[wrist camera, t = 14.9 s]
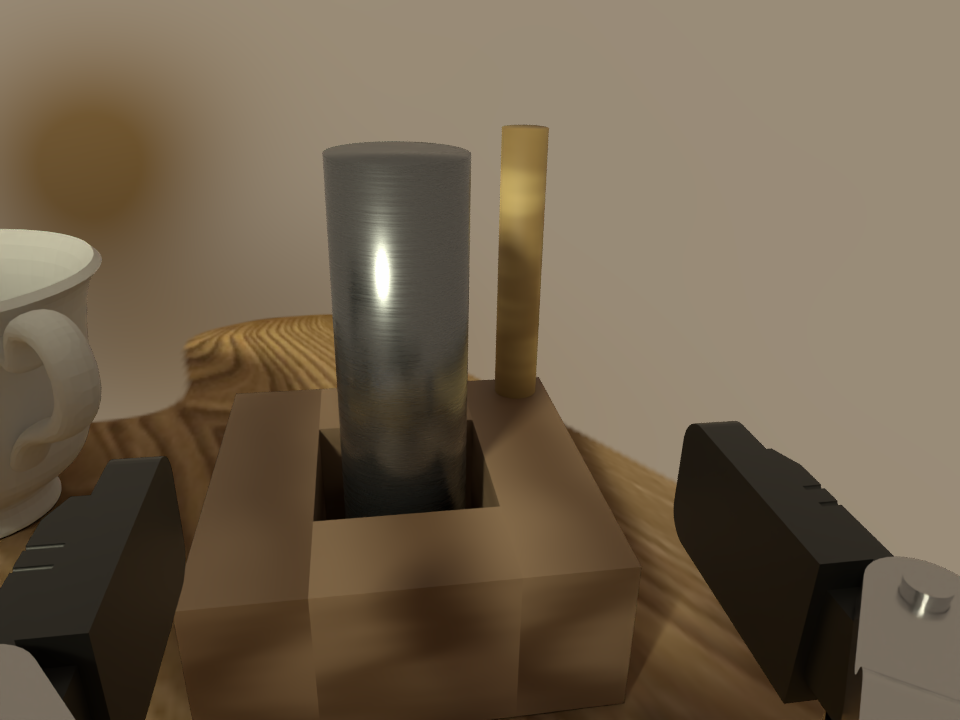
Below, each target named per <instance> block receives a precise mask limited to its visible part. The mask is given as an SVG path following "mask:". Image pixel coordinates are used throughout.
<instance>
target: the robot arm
mask: <svg viewBox="0 0 960 720" xmlns="http://www.w3.org/2000/svg"><path fill="white" fill-rule="evenodd" d="M674 522H675V527H676V531H677V534H678V537H679V539H680V542H681V543H682V545H683V547H684V548H685V550H686V551H687V553H688V555H689V556H690V558H691V559H692V561H693V562H694V564H695V565H696V567H697V569H698V570H699V572H700V573H701V575H702V576H703V578H704V580H705V581H706V583H707V584H708V586H709V587H710V589H711V590H712V592H713V594H714V595H715V597H716V598H717V600H718V601H719V603H720V604H721V606H722V608H723V609H724V611H725V612H726V614H727V615H728V617H729V619H730V620H731V622H732V623H733V625H734V626H735V628H736V629H737V631H738V633H739V634H740V636H741V637H742V639H743V640H744V642H745V644H746V645H747V647H748V648H749V650H750V651H751V653H752V654H753V656H754V658H755V659H756V661H757V662H758V664H759V665H760V667H761V668H762V670H763V672H764V673H765V675H766V676H767V678H768V679H769V681H770V683H771V684H772V686H773V687H774V689H775V690H776V692H777V693H778V695H779V697H780V698H781V700H782V701H783V703H784V704H786V703H794V702H802V701H810V700H817V699H818V700H819V702H820V703H821V705H822V706H823V708H824V709H825V711H824V715H823V718H822V720H960V576H958V575H957V574H955V573H953V572H951V571H949V570H947V569H945V568H943V567H940V566H938V565H936V564H933V563H929V562H927V561H923V560H919V559H915V558H907V557H894V556H893V555H892V554H891V553H890V552H889V551H888V550H887V549H886V548H885V547H884V546H883V545H882V544H881V543H880V542H879V541H878V540H877V539H876V538H875V537H874V536H873V535H872V534H871V533H870V532H869V531H868V530H867V529H866V528H864V526H862V525H861V524H860V522H858V521H857V520H856V519H855V518H854V517H853V516H852V515H851V514H850V513H849V512H848V511H847V510H846V509H845V508H844V507H843V506H842V505H838V504H837V500H836V499H835V498H834V497H833V496H832V495H831V494H830V493H829V492H828V491H827V490H826V489H821V484H820V483H819V482H818V481H817V480H816V479H815V478H813V476H812V475H810V473H809V472H808V471H807V470H806V469H804V468H803V467H802V466H801V465H800V464H798V463H797V462H795V461H793V460H791V459H789V458H787V457H786V456H783V455H782V454H780V453H778V452H777V451H775V450H773V449H766V448H765V447H764V446H763V445H762V444H761V443H760V442H759V441H758V440H757V439H756V438H755V437H754V436H753V435H752V434H751V433H750V432H749V431H748V430H747V429H746V428H745V427H744V426H743V425H742V424H741V423H740V422H737V421H728V422H712V423H696V424H691V425H690V426H689V427H688V428H687V430H686V433H685V436H684V441H683V448H682V454H681V460H680V467H679V474H678V480H677V487H676V493H675V500H674ZM184 575H185V545H184V538H183V532H182V526H181V520H180V514H179V509H178V503H177V497H176V491H175V485H174V479H173V474H172V468H171V465H170V462H169V460H168V458H167V457H166V456H159V457H143V458H127V459H112V460H110V461H109V462H108V464H107V465H106V467H105V469H104V471H103V473H102V475H101V477H100V478H99V480H98V482H97V484H96V486H95V488H94V490H93V492H92V494H91V495H88V496H73V497H70V498H68V499H67V500H66V501H65V502H63V503H62V504H61V505H60V506H58V507H57V508H56V509H55V510H53V511H52V512H51V513H50V514H48V515H47V516H46V517H45V518H43V519H42V520H41V521H40V523H39V525H38V526H37V528H36V530H35V531H34V533H33V535H32V536H31V538H30V540H29V541H28V543H27V545H26V551H22V553H21V555H20V556H19V558H18V560H17V561H16V563H15V565H14V566H13V573H9V575H8V576H7V578H6V580H5V581H4V583H3V585H2V586H1V588H0V720H145V718H146V714H147V711H148V707H149V704H150V700H151V697H152V693H153V690H154V686H155V683H156V679H157V676H158V672H159V669H160V665H161V661H162V658H163V654H164V651H165V647H166V644H167V640H168V637H169V633H170V630H171V626H172V623H173V619H174V615H175V612H176V608H177V605H178V601H179V598H180V594H181V591H182V587H183V582H184Z"/></svg>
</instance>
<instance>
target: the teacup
mask: <svg viewBox="0 0 960 720" xmlns="http://www.w3.org/2000/svg"><path fill="white" fill-rule="evenodd" d="M101 261H102V259H101V255H100V253H99V252H98V251H97V250H96V249H94V248H93V247H92V246H90V245H89V244H88V243H86V242H85V241H83V240H80V239H78V238H76V237H72V236H69V235H64V234H59V233H54V232H45V231H35V230H17V229H15V230H14V229H0V538H3V537H5V536H8V535H10V534H12V533H14V532H16V531H18V530H21V529H23V528H25V527H27V526H29V525H30V524H32V523H33V522H35V521H36V520H38V519H39V518H40V517H42V516H43V515H45V514H46V513H47V512H48V511H49V510H50V509H51V508H52V507H53V506H54V505H55V503H56V502H57V500H58V499H59V497H60V494H61V481H60V479H59V477H58V475H59V474H60V473H62V472H63V471H64V470H65V469H66V468H67V467H68V466H69V465H70V464H71V463H72V462H73V461H74V460H75V458H76V457H77V456H78V454H79V452H80V451H81V449H82V447H83V445H84V443H85V441H86V438H87V435H88V432H89V427H90V424H91V423H92V421H93V419H94V417H95V416H96V414H97V411H98V409H99V405H100V401H101V382H100V376H99V371H98V367H97V363H96V360H95V357H94V355H93V353H92V350H91V347H90V345H89V343H88V331H87V292H88V287H89V281H90V279H91V277H92V275H93V274H94V273H95V272H96V270H97V269H98V268H99V267H100V264H101Z"/></svg>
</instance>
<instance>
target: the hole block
mask: <svg viewBox="0 0 960 720" xmlns="http://www.w3.org/2000/svg"><path fill="white" fill-rule="evenodd" d="M548 133H549V128H548V127H544V126H537V125H507V126H503V127H502V147H501V148H502V151H501V184H500V220H499V258H498V294H497V295H498V296H497V330H496V367H495V380H479V381H467V436H466V497H465V509H462V510H450V511H437V512H425V513H413V514H400V515H388V516H376V517H363V518H351V519H345V504H344V488H343V472H342V456H341V440H340V424H339V408H338V392H337V388H332V389H314V390H296V391H277V392H259V393H241V394H236V396H235V399H234V403H233V406H232V409H231V413H230V416H229V420H228V423H227V426H226V430H225V433H224V437H223V440H222V443H221V447H220V450H219V454H218V457H217V460H216V464H215V467H214V470H213V474H212V477H211V481H210V484H209V487H208V491H207V494H206V498H205V501H204V504H203V508H202V511H201V515H200V518H199V521H198V525H197V528H196V532H195V535H194V538H193V542H192V545H191V549H190V552H189V555H188V559H187V562H186V566H185V575H184V582H183V587H182V591H181V594H180V598H179V601H178V605H177V608H176V612H175V615H174V619H173V620H174V626H175V631H176V636H177V641H178V647H179V652H180V657H181V662H182V668H183V673H184V678H185V683H186V689H187V694H188V699H189V704H190V710H191V715H192V720H491V719H499V718H507V717H515V716H523V715H531V714H539V713H547V712H555V711H564V710H572V709H580V708H588V707H596V706H604V705H612V704H620V703H624V700H625V692H626V684H627V676H628V668H629V661H630V653H631V645H632V637H633V630H634V622H635V614H636V606H637V599H638V591H639V583H640V575H641V565H640V563H639V561H638V559H637V557H636V556H635V554H634V552H633V550H632V548H631V546H630V545H629V543H628V541H627V539H626V537H625V535H624V533H623V532H622V530H621V528H620V526H619V524H618V522H617V521H616V519H615V517H614V515H613V513H612V511H611V510H610V508H609V506H608V504H607V502H606V500H605V498H604V497H603V495H602V493H601V491H600V489H599V487H598V486H597V484H596V482H595V480H594V478H593V476H592V475H591V473H590V471H589V469H588V467H587V465H586V463H585V462H584V460H583V458H582V456H581V454H580V452H579V451H578V449H577V447H576V445H575V443H574V441H573V439H572V438H571V436H570V434H569V432H568V430H567V428H566V427H565V425H564V423H563V421H562V419H561V417H560V416H559V414H558V412H557V410H556V408H555V406H554V404H553V403H552V401H551V399H550V397H549V395H548V393H547V392H546V390H545V388H544V386H543V384H542V382H541V381H540V379H539V377H536V365H537V346H538V327H539V306H540V288H541V287H540V286H541V267H542V249H543V229H544V210H545V190H546V171H547V152H548Z"/></svg>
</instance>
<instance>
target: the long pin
mask: <svg viewBox="0 0 960 720" xmlns="http://www.w3.org/2000/svg"><path fill="white" fill-rule="evenodd" d="M323 168H324V182H325V200H326V216H327V231H328V248H329V264H330V280H331V294H332V295H331V296H332V312H333V328H334V344H335V360H336V376H337V392H338V408H339V424H340V440H341V456H342V472H343V488H344V504H345V519H351V518H363V517H376V516H388V515H400V514H413V513H425V512H437V511H450V510H462V509H465V497H466V436H467V374H468V312H469V251H470V188H471V152H469V151H468V150H466V149H463V148H459V147H456V146H450V145H444V144H436V143H424V142H400V141H399V142H397V141H394V142H393V141H391V142H389V141H388V142H364V143H353V144H346V145H340V146H335V147H331V148H328V149H326V150H324V151H323Z"/></svg>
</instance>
